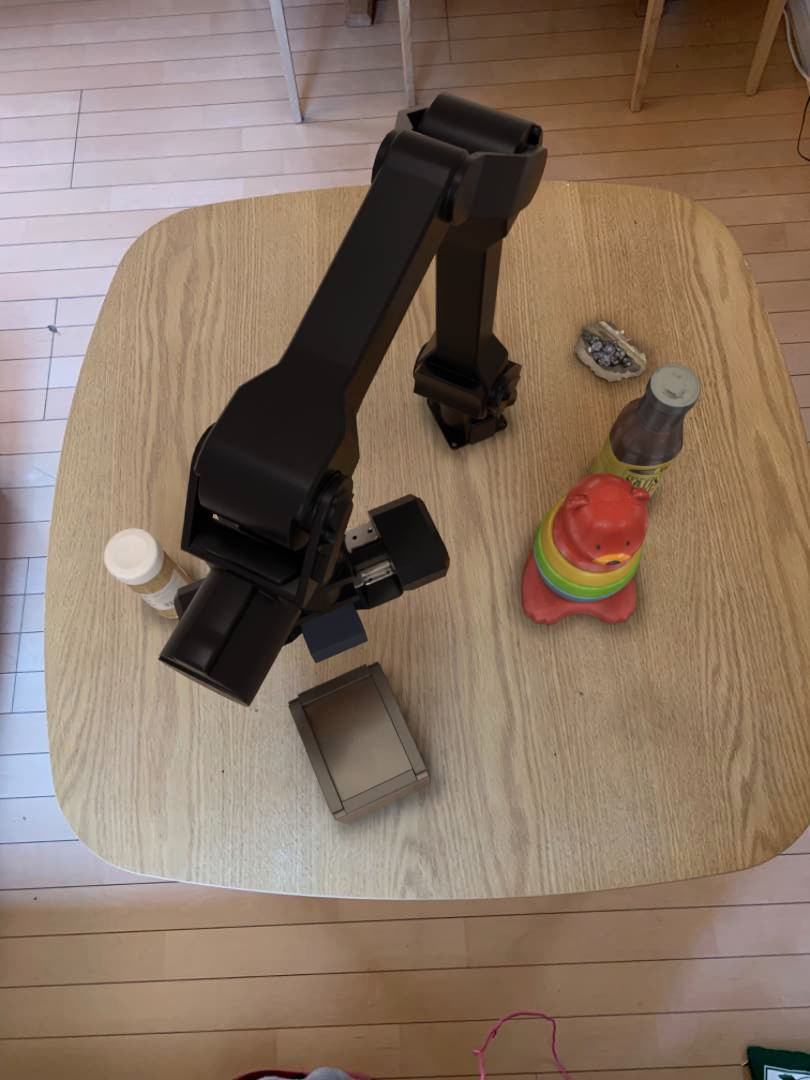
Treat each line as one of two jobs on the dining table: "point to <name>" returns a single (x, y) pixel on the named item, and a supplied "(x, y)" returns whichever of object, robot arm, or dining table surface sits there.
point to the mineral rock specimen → (609, 352)
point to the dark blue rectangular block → (333, 633)
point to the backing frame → (358, 743)
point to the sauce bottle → (650, 429)
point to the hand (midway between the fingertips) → (326, 614)
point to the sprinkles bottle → (145, 569)
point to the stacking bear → (587, 553)
